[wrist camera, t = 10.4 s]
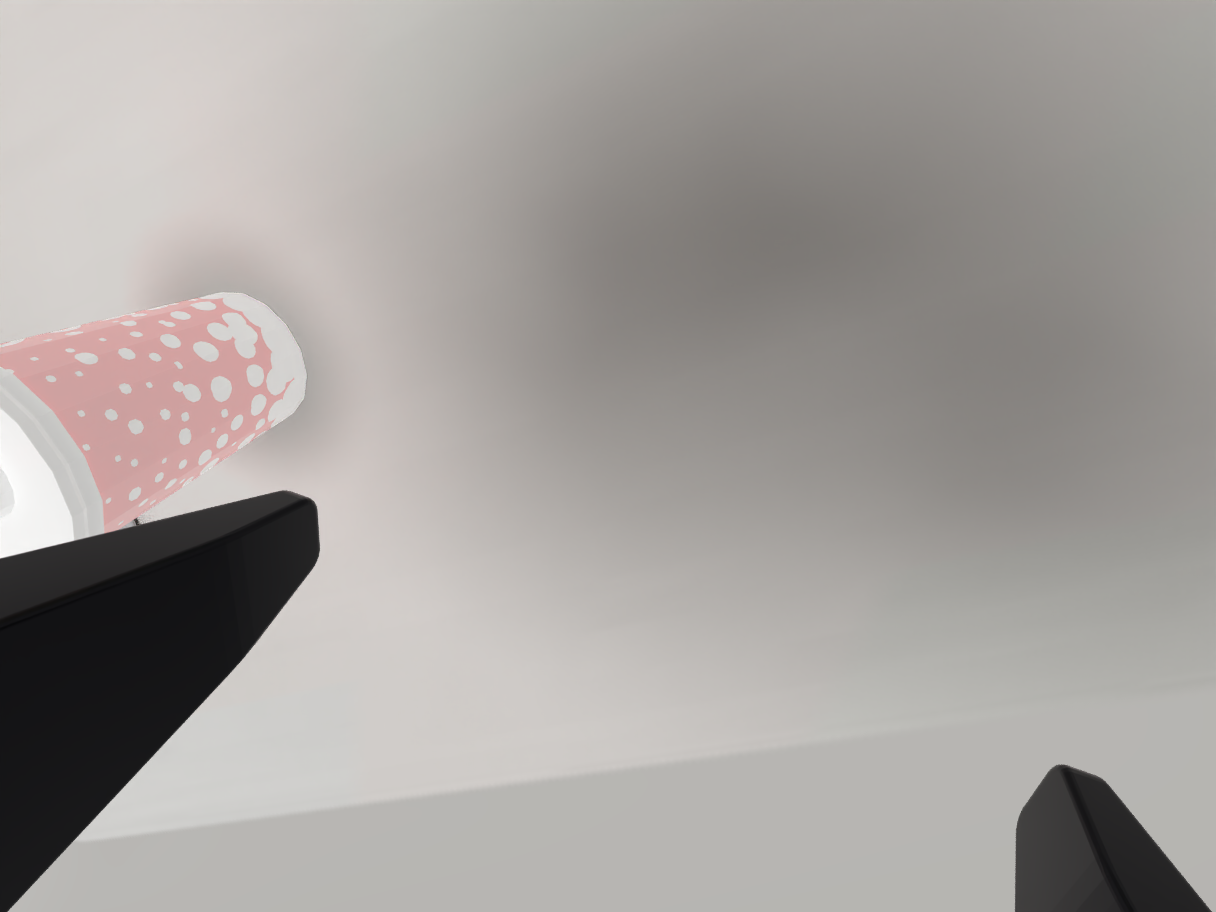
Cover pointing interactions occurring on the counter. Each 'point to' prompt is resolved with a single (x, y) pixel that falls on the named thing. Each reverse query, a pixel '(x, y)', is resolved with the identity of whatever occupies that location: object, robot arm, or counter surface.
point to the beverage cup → (134, 411)
